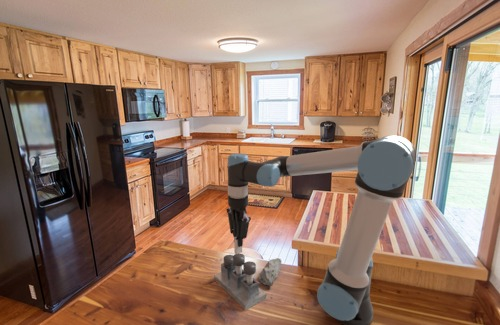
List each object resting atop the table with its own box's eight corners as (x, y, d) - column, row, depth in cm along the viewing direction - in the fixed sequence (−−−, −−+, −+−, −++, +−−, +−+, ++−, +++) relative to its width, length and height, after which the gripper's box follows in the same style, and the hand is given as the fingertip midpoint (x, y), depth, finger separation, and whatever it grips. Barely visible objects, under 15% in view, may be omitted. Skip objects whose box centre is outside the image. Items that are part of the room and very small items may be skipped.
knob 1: (237, 278, 110) (236, 258, 108) (227, 283, 108) (227, 262, 106) (231, 273, 114) (230, 253, 112) (221, 277, 111) (221, 257, 109)
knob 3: (258, 288, 99) (258, 265, 97) (248, 293, 96) (248, 270, 94) (250, 282, 102) (250, 260, 100) (241, 287, 100) (241, 264, 98)
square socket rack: (266, 298, 100) (266, 282, 99) (245, 310, 94) (245, 293, 93) (233, 270, 117) (233, 256, 116) (214, 279, 111) (214, 264, 110)
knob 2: (247, 279, 104) (246, 257, 102) (237, 283, 101) (237, 261, 100) (240, 273, 108) (240, 252, 106) (231, 277, 105) (230, 256, 103)
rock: (268, 264, 122) (268, 251, 120) (283, 268, 119) (283, 255, 118) (255, 284, 108) (255, 270, 106) (271, 289, 105) (272, 274, 104)
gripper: (256, 197, 95) (256, 256, 100) (236, 189, 105) (236, 242, 110) (240, 202, 90) (240, 263, 95) (220, 192, 100) (221, 248, 105)
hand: (238, 252), depth 102 cm, fingers closed
